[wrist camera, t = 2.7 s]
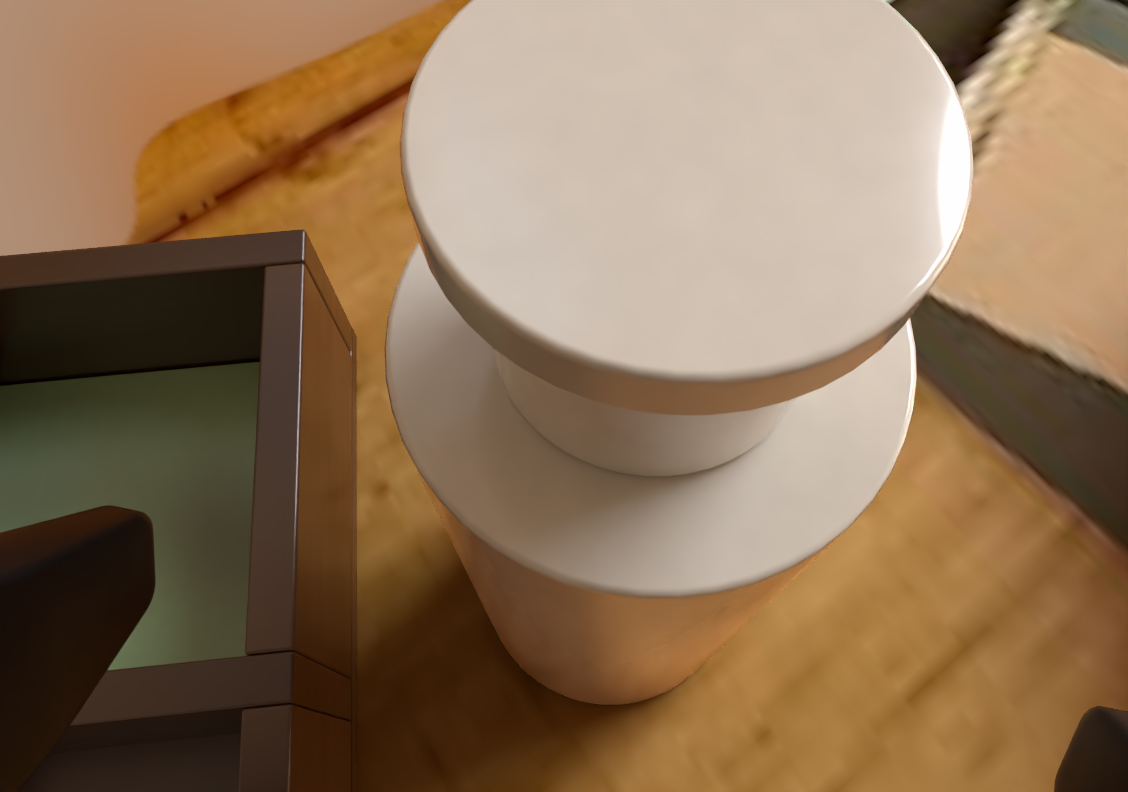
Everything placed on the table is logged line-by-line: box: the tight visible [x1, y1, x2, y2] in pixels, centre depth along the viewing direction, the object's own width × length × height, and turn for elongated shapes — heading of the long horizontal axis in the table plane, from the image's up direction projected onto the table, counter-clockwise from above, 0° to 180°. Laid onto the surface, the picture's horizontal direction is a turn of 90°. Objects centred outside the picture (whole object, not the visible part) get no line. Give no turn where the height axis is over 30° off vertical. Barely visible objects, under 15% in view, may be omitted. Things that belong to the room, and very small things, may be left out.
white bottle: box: [385, 0, 973, 705], centre depth 12 cm, size 5×5×14 cm
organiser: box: [0, 230, 357, 792], centre depth 15 cm, size 17×9×4 cm, turn 6°
